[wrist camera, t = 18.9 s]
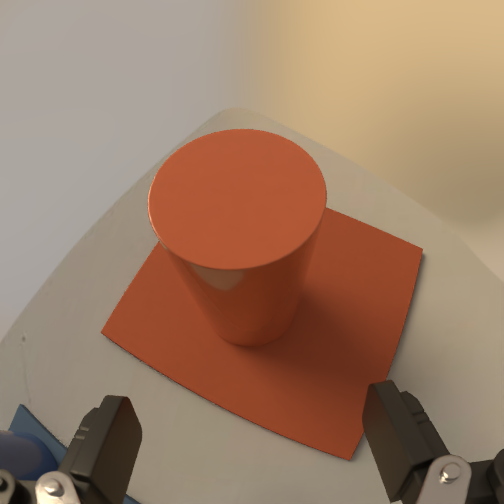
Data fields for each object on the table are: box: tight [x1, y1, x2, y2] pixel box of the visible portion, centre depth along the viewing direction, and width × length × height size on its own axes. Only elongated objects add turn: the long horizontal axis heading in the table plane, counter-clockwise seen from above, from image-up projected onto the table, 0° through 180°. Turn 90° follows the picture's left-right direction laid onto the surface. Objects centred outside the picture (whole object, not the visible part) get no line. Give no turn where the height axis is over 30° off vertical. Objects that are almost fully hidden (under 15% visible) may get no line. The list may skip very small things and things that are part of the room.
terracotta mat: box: [101, 208, 423, 460], centre depth 18 cm, size 16×14×1 cm
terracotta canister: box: [148, 129, 327, 347], centre depth 13 cm, size 5×5×10 cm
